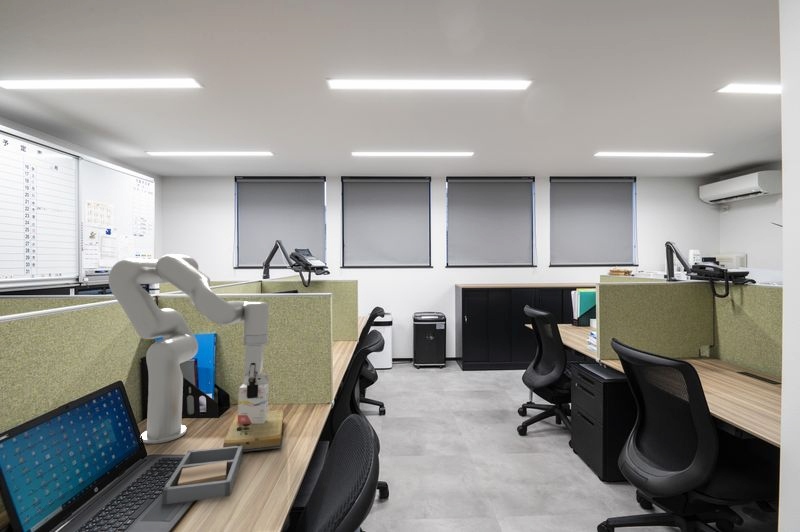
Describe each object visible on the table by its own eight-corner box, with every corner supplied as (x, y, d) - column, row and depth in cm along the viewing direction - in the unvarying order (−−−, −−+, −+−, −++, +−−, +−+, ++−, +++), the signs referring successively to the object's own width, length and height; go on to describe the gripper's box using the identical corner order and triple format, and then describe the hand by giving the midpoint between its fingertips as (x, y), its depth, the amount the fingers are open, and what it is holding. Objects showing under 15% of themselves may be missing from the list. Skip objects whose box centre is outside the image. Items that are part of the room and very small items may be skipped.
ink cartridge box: (236, 424, 114) (238, 378, 115) (241, 418, 119) (243, 374, 120) (264, 423, 115) (266, 377, 116) (268, 417, 120) (269, 373, 121)
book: (235, 427, 126) (235, 410, 126) (284, 423, 131) (285, 406, 131) (221, 462, 102) (221, 441, 102) (281, 455, 107) (282, 435, 107)
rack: (187, 465, 99) (188, 450, 99) (242, 459, 103) (242, 445, 103) (161, 508, 81) (162, 490, 81) (229, 499, 84) (229, 481, 85)
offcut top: (182, 475, 89) (182, 468, 89) (226, 468, 93) (226, 461, 93) (177, 491, 83) (177, 483, 83) (225, 482, 87) (225, 474, 87)
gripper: (247, 335, 125) (245, 386, 125) (238, 344, 109) (236, 403, 108) (269, 335, 127) (268, 385, 127) (265, 343, 111) (263, 401, 110)
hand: (253, 393), depth 117 cm, fingers open, 7 cm apart
